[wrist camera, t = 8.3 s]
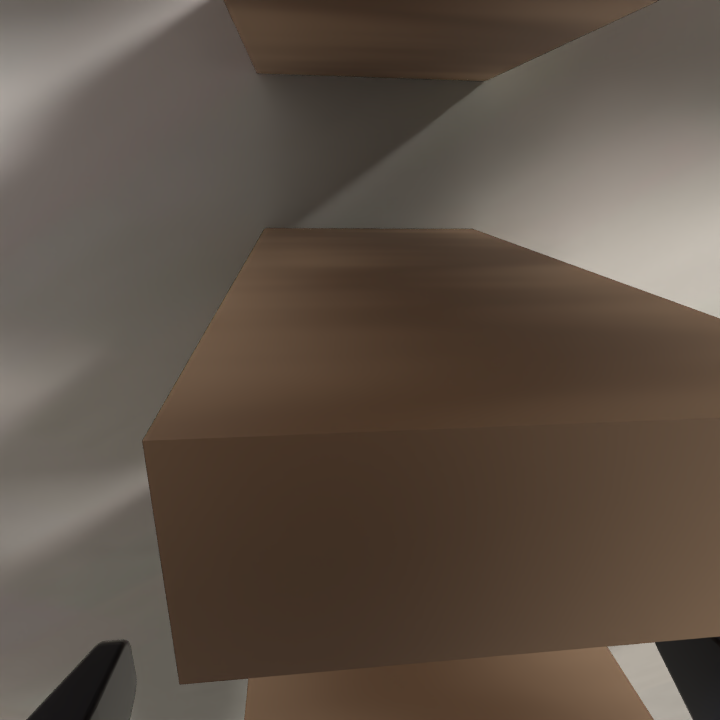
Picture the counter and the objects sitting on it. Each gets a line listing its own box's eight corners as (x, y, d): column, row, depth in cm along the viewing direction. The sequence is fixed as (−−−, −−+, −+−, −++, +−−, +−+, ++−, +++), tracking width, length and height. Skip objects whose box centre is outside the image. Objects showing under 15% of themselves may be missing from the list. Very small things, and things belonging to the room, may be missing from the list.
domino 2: (455, 410, 14) (748, 866, 5) (452, 466, 15) (705, 964, 6) (274, 420, 14) (221, 947, 4) (278, 477, 14) (238, 1044, 5)
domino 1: (472, 229, 13) (964, 407, 3) (465, 300, 13) (862, 623, 4) (264, 228, 12) (144, 439, 3) (268, 303, 13) (178, 684, 3)
